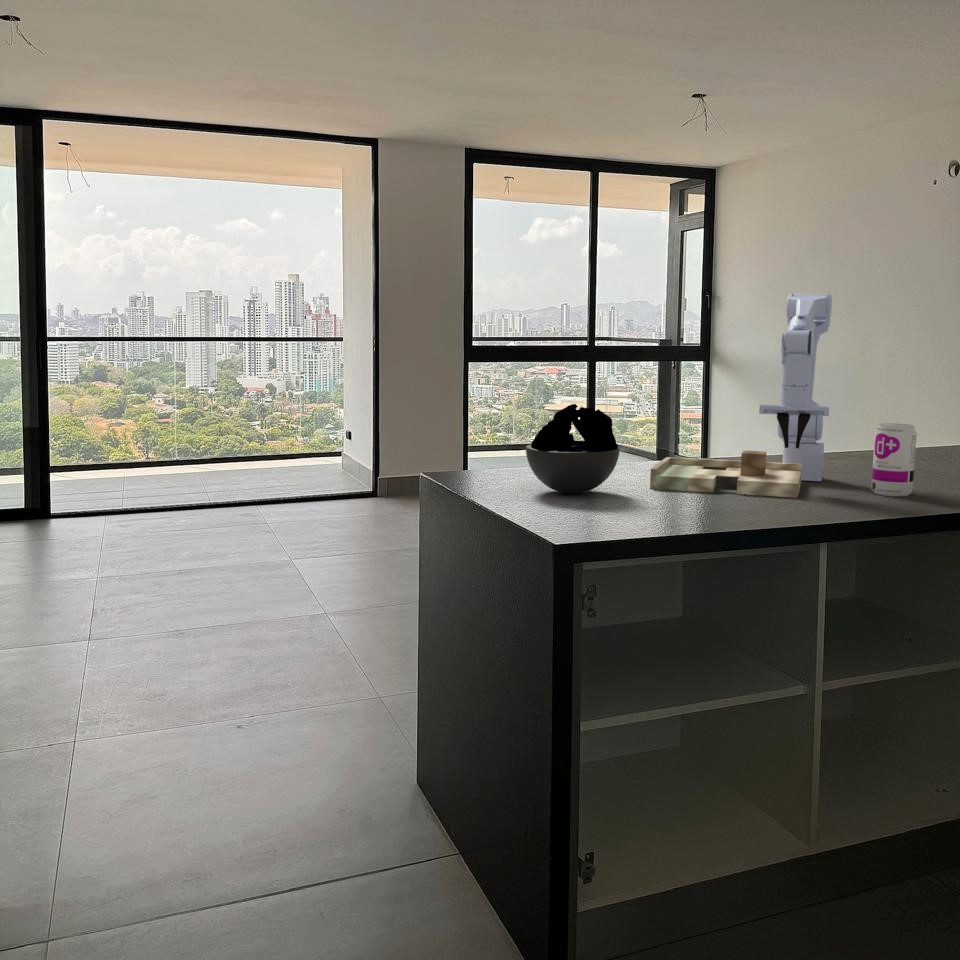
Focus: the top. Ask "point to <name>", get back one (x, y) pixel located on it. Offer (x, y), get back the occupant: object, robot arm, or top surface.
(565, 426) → the bowl of black rocks
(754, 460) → the walnut block
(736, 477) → the wooden tray
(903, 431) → the supplement can
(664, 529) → the top surface
